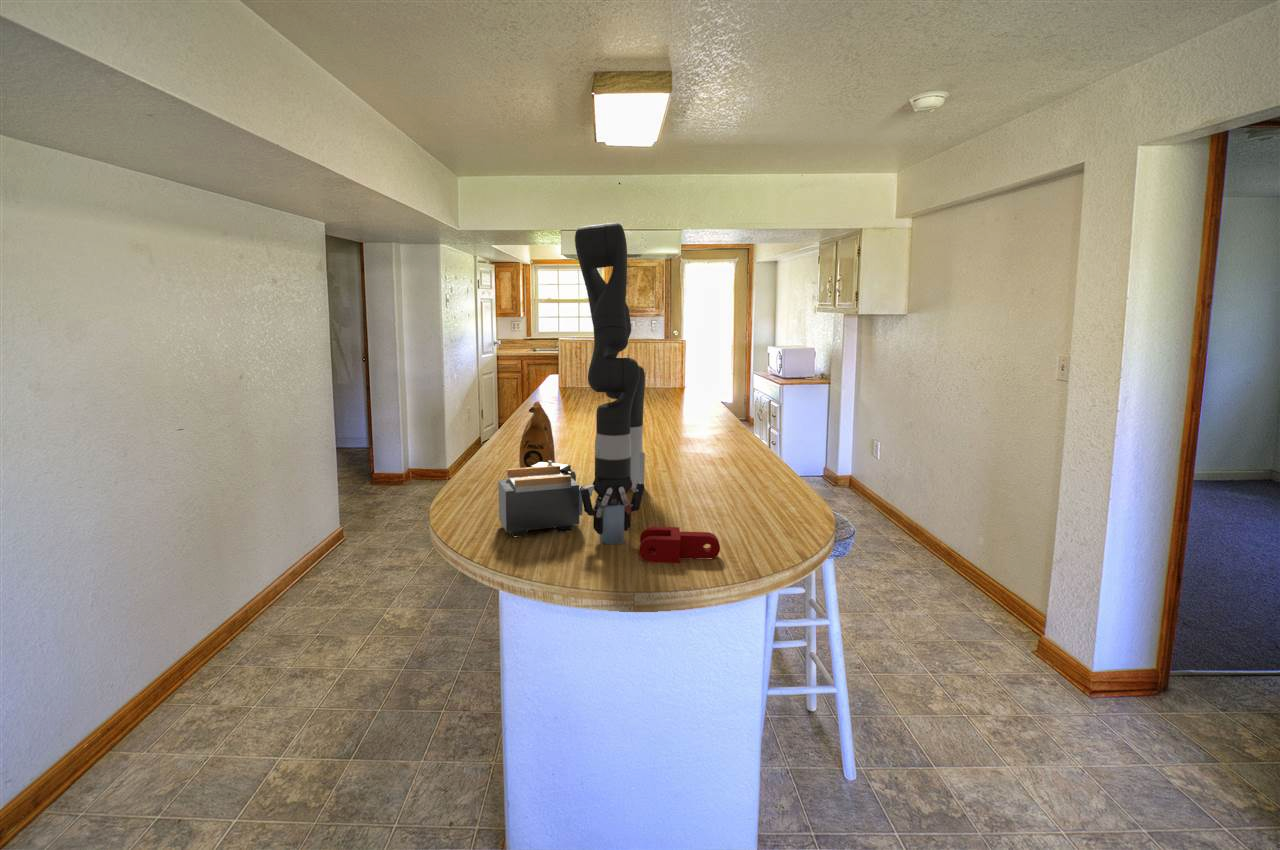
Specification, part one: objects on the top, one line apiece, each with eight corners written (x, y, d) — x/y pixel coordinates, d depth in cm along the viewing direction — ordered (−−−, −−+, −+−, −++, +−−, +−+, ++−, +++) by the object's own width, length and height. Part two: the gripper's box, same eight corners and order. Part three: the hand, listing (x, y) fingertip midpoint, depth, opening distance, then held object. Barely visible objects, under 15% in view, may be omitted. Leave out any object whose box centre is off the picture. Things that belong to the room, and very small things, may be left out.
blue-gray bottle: (619, 534, 143) (619, 492, 141) (627, 542, 138) (628, 499, 137) (596, 537, 141) (596, 494, 140) (604, 545, 137) (604, 501, 135)
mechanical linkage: (639, 563, 129) (639, 538, 128) (640, 549, 136) (640, 526, 135) (720, 565, 128) (721, 541, 127) (717, 551, 135) (718, 528, 134)
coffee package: (514, 487, 177) (513, 407, 173) (523, 475, 189) (522, 400, 185) (551, 488, 177) (550, 408, 172) (558, 476, 189) (557, 401, 185)
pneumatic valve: (568, 514, 156) (568, 465, 154) (524, 508, 159) (523, 460, 157) (577, 507, 161) (577, 460, 159) (534, 502, 164) (534, 456, 162)
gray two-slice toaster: (572, 517, 154) (572, 464, 152) (585, 531, 145) (585, 474, 142) (498, 524, 148) (497, 469, 145) (506, 539, 139) (505, 481, 136)
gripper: (638, 447, 142) (636, 522, 146) (574, 452, 137) (574, 529, 140) (651, 455, 136) (649, 533, 139) (585, 460, 130) (584, 541, 133)
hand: (611, 531), depth 139 cm, fingers closed on blue-gray bottle, 5 cm apart
